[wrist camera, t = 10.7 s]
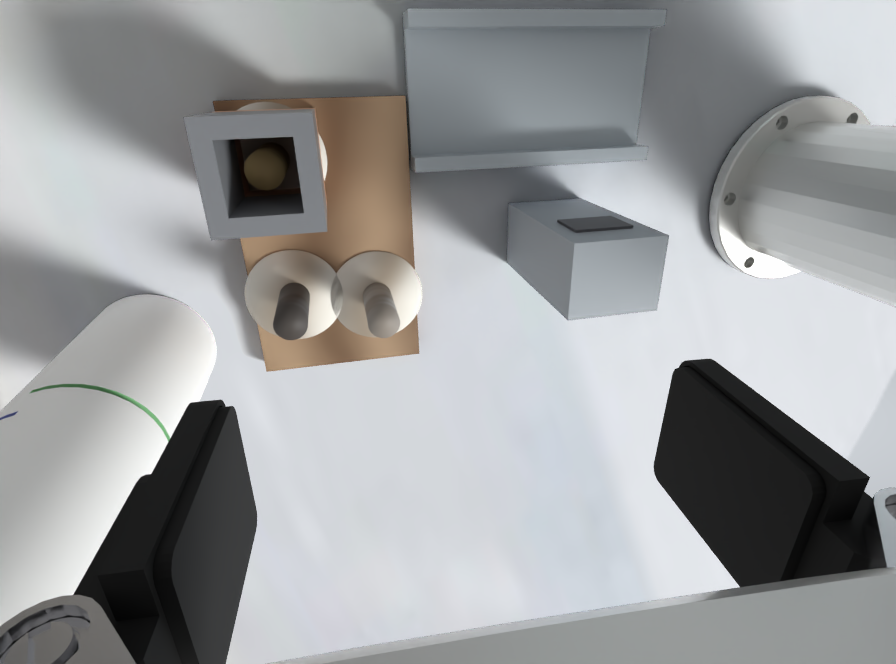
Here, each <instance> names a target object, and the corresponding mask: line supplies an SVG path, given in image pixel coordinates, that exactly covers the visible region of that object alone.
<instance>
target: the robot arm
mask: <svg viewBox="0 0 896 664" xmlns="http://www.w3.org/2000/svg"><path fill="white" fill-rule="evenodd" d="M709 222H710V230H711V236H712V239H713V242H714V245H715V247H716V249H717V251H718V252H719V254H720V255H721V257H722V258H723V259H724V260H725V261H726V262H727V263H728V264H729V265H730V266H731V267H733V268H735V269H737V270H739V271H740V272H742V273H745V274H748V275H750V276H753V277H756V278H765V279H773V278H782V277H785V276H789V275H792V274H795V273H798V272H800V271H801V272H804V273H807V274H809V275H812V276H814V277H817V278H820V279H822V280H825V281H828V282H830V283H833V284H836V285H838V286H841V287H843V288H846V289H849V290H851V291H854V292H857V293H859V294H862V295H865V296H867V297H870V298H872V299H875V300H878V301H880V302H883V303H886V304H888V305H891V306H894V307H896V126H883V125H871V124H870V122H869V121H868V119H867V118H866V116H865V115H864V113H863V112H862V111H861V110H860V109H859V108H857V107H856V106H855V105H854V104H852V103H851V102H849V101H846V100H844V99H841V98H839V97H830V96H805V97H801V98H798V99H794V100H790V101H788V102H785V103H783V104H781V105H779V106H777V107H775V108H773V109H772V110H770V111H769V112H768V113H766V114H765V115H763V116H762V117H761V118H759V119H758V120H757V121H756V122H755V123H754V124H753V125H752V126H751V127H749V128H748V129H747V130H746V131H745V132H744V133H743V135H742V136H741V137H740V138H739V140H738V141H737V142H736V144H735V145H734V146H733V148H732V149H731V150H730V152H729V154H728V156H727V158H726V159H725V161H724V163H723V165H722V166H721V169H720V171H719V174H718V176H717V179H716V181H715V184H714V188H713V192H712V197H711V201H710V213H709ZM654 472H655V476H656V478H657V480H658V482H659V483H660V484H661V486H662V487H663V488H664V489H665V491H666V492H667V493H668V495H669V496H670V497H671V498H672V500H673V501H674V502H675V504H676V505H677V506H678V507H679V509H680V510H681V511H682V513H683V514H684V515H685V516H686V518H687V519H688V520H689V522H690V523H691V524H692V525H693V527H694V528H695V529H696V531H697V532H698V533H699V535H700V536H701V537H702V538H703V540H704V541H705V542H706V544H707V545H708V546H709V547H710V549H711V550H712V551H713V553H714V554H715V555H716V556H717V558H718V559H719V560H720V562H721V563H722V564H723V565H724V567H725V568H726V569H727V571H728V572H729V573H730V574H731V576H732V577H733V578H734V580H735V581H736V582H737V584H738V585H739V586H740V588H733V589H726V590H720V591H713V592H706V593H699V594H693V595H686V596H679V597H673V598H666V599H660V600H653V601H647V602H640V603H634V604H627V605H621V606H614V607H608V608H601V609H595V610H588V611H582V612H576V613H569V614H563V615H557V616H550V617H544V618H537V619H531V620H525V621H518V622H512V623H505V624H499V625H493V626H487V627H481V628H474V629H468V630H462V631H456V632H450V633H444V634H437V635H431V636H425V637H419V638H413V639H406V640H400V641H394V642H388V643H382V644H375V645H369V646H363V647H357V648H351V649H346V650H340V651H335V652H329V653H323V654H318V655H312V656H307V657H301V658H295V659H290V660H284V661H279V662H273V663H267V664H896V488H886V489H881V490H879V491H878V492H877V493H876V494H875V495H874V497H873V498H871V497H870V496H869V495H868V494H866V493H865V492H864V490H865V487H866V485H867V483H868V480H869V478H870V477H869V476H867V475H866V474H865V473H863V472H862V471H861V470H859V469H858V468H857V467H855V466H854V465H853V464H851V463H850V462H849V461H847V460H846V459H845V458H843V457H842V456H841V455H839V454H838V453H837V452H835V451H834V450H833V449H831V448H830V447H829V446H827V445H826V444H825V443H823V442H822V441H821V440H819V439H818V438H817V437H815V436H814V435H813V434H811V433H810V432H809V431H807V430H806V429H805V428H803V427H802V426H801V425H799V424H798V423H797V422H795V421H794V420H793V419H791V418H790V417H789V416H787V415H786V414H785V413H783V412H782V411H781V410H780V409H778V408H777V407H776V406H774V405H773V404H772V403H770V402H769V401H768V400H766V399H765V398H764V397H762V396H761V395H760V394H758V393H757V392H756V391H754V390H753V389H752V388H750V387H749V386H748V385H746V384H745V383H744V382H742V381H741V380H740V379H738V378H737V377H736V376H734V375H733V374H732V373H730V372H729V371H728V370H726V369H725V368H724V367H722V366H721V365H720V364H718V363H717V362H716V361H714V360H712V359H700V360H688V361H684V362H682V363H681V365H680V366H679V368H677V369H675V370H674V372H673V375H672V380H671V385H670V389H669V394H668V399H667V404H666V409H665V413H664V418H663V423H662V428H661V432H660V437H659V442H658V447H657V452H656V456H655V461H654ZM256 527H257V511H256V505H255V501H254V496H253V491H252V486H251V482H250V477H249V472H248V467H247V463H246V458H245V453H244V448H243V443H242V439H241V434H240V429H239V424H238V420H237V415H236V411H235V408H234V407H233V406H229V407H225V404H224V402H223V401H222V400H213V401H201V402H192V403H190V404H189V405H188V406H187V408H186V410H185V412H184V414H183V416H182V417H181V419H180V421H179V423H178V425H177V427H176V429H175V430H174V432H173V434H172V436H171V438H170V440H169V442H168V444H167V445H166V447H165V449H164V451H163V453H162V455H161V457H160V459H159V460H158V462H157V464H156V466H155V468H154V470H153V472H152V474H147V475H144V476H142V477H140V478H139V480H138V481H137V482H136V484H135V486H134V487H133V489H132V491H131V493H130V494H129V496H128V498H127V500H126V502H125V503H124V505H123V507H122V509H121V510H120V512H119V514H118V516H117V518H116V519H115V521H114V523H113V525H112V527H111V528H110V530H109V532H108V534H107V535H106V537H105V539H104V541H103V543H102V544H101V546H100V548H99V550H98V551H97V553H96V555H95V557H94V559H93V560H92V562H91V564H90V566H89V567H88V569H87V571H86V573H85V575H84V576H83V578H82V580H81V582H80V583H79V585H78V587H77V589H76V591H75V592H74V594H73V595H67V596H60V597H56V598H53V599H49V600H46V601H42V602H40V603H38V604H36V605H34V606H32V607H30V608H28V609H26V610H23V611H22V612H20V613H19V614H17V615H16V616H14V617H13V618H11V619H10V620H8V621H7V622H5V623H4V624H2V625H1V626H0V664H226V659H227V655H228V651H229V646H230V642H231V638H232V633H233V629H234V624H235V620H236V616H237V611H238V607H239V602H240V598H241V594H242V589H243V585H244V580H245V576H246V572H247V567H248V563H249V558H250V554H251V550H252V545H253V541H254V536H255V532H256Z"/></svg>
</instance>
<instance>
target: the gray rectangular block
mask: <svg viewBox="0 0 896 664" xmlns="http://www.w3.org/2000/svg"><path fill="white" fill-rule="evenodd" d="M668 239H669V235H667V234H664V233H662V232H659V231H657V230H655V229H652V228H650V227H647V226H645V225H643V224H640V223H638V222H636V221H633V220H631V219H628V218H626V217H624V216H621V215H619V214H617V213H614V212H612V211H609V210H607V209H605V208H602V207H600V206H597V205H595V204H593V203H590V202H588V201H586V200H583V199H581V198H578V199H563V200H548V201H534V202H519V203H508V237H507V263H508V264H509V265H510V266H511V267H512V268H513V269H514V270H515V271H516V272H517V273H518V274H519V275H520V276H522V277H523V278H524V279H525V280H526V281H527V282H528V283H529V284H530V285H531V286H532V287H533V288H534V289H535V290H536V291H537V292H538V293H540V294H541V295H542V296H543V297H544V298H545V299H546V300H547V301H548V302H549V303H550V304H551V305H552V306H553V307H554V308H555V309H556V310H558V311H559V312H560V313H561V314H562V315H563V316H564V317H565V318H566V319H567V320H576V319H585V318H594V317H603V316H611V315H620V314H629V313H638V312H647V311H655V310H657V307H658V301H659V294H660V288H661V282H662V276H663V270H664V264H665V257H666V251H667V245H668Z"/></svg>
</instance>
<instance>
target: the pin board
mask: <svg viewBox="0 0 896 664" xmlns="http://www.w3.org/2000/svg"><path fill="white" fill-rule="evenodd" d="M213 104H214V109H215V111H236V110H266V109H296V108H315V110H316V119H317V127H318V135H319V143H320V151H321V159H322V167H323V175H324V183H325V191H326V199H327V232H316V233H303V234H290V235H276V236H263V237H250V238H240V240H241V245H242V250H243V255H244V260H245V265H246V270H247V275H248V277H247V280H246V284H245V291H244V296H245V302H246V306H247V308H248V311H249V313H250V315H251V316H252V318H253V319H254V320H255V321H256V323H257V326H258V331H259V336H260V341H261V346H262V351H263V356H264V361H265V366H266V371H267V372H268V371H276V370H285V369H293V368H301V367H310V366H318V365H327V364H335V363H343V362H352V361H360V360H368V359H377V358H385V357H394V356H402V355H410V354H419V341H418V323H417V313H418V311H419V308H420V305H421V301H422V286H421V282H420V279H419V277H418V275H417V273H416V271H415V266H414V247H413V228H412V210H411V191H410V172H409V153H408V134H407V115H406V97H405V96H369V97H333V98H297V99H261V100H225V101H213ZM240 143H241V148H242V153H243V159H244V172H245V176H246V178H247V180H248V186H249V191H257V190H274V189H290V188H300V181H299V174H298V167H297V160H296V153H295V146H294V139H293V137H275V138H251V139H240Z"/></svg>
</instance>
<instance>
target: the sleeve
mask: <svg viewBox="0 0 896 664" xmlns="http://www.w3.org/2000/svg"><path fill="white" fill-rule="evenodd" d="M183 119H184V123H185V128H186V132H187V136H188V141H189V145H190V150H191V154H192V158H193V163H194V167H195V172H196V176H197V181H198V185H199V189H200V194H201V198H202V203H203V207H204V211H205V216H206V220H207V225H208V229H209V234H210V238H211V240H224V239H237V238H250V237H263V236H276V235H290V234H303V233H316V232H327V199H326V191H325V183H324V175H323V167H322V159H321V151H320V143H319V135H318V127H317V119H316V110H315V108H296V109H266V110H236V111H214V112H209V113H203V114H198V115H192V116H187V117H183ZM275 137H293V139H294V146H295V153H296V160H297V167H298V174H299V181H300V188H290V189H274V190H257V191H249V186H248V180H247V178H246V176H245V172H244V159H243V153H242V148H241V143H240V139H251V138H275Z"/></svg>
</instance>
